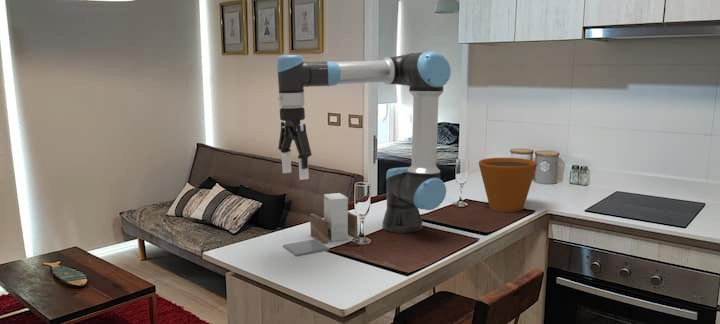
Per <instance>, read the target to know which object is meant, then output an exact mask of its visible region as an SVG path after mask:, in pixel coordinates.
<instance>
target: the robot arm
mask: <svg viewBox="0 0 720 324" xmlns="http://www.w3.org/2000/svg"><path fill="white" fill-rule="evenodd" d="M276 67H277V70H276V72H277V82H278V97H277V100H278V101H279V102H278V103H279V104H278V105H279V106H280V107H281V108H280V109H279V119H280V120H281V122H280V133H279V141H278V150H279V151H280V153H281V167H282V168H281V169H282V174H290V173H292V161H291V160H292V156H291V152H292V150H291V146H292V143H293V141H294V144H295V147H296V149H297V153H298V156H297V159H298V174H299V175H298V176H299V181H305V180H309V178H310V176H309V175H310V174H309V157H311V156H312V151H311V146H310V142H309V138H308V134H307V128H306V127H307V126H306V124H305V123H301V121H303V120H305V118H306V114H305V113H306V112H305V108H304V107H303V106H305V91H304V89H305V87H306V88H308V87H330V86H332V87H333V86H337V85H344V84H345V85H346V84H347V85H348V84H366V83H367V84H368V83H384V84H385V85H398V86H399V85H400V86H406V87H408V88H409V89H408V92H409V93H410V94H411V96H412V97H413V100H412V101H413V103H412V134H411V135H412V136H411V137H412V138H411V139H412V140H411V165H410V166H406V167H405V166H403V167H393V168H389V169H388V170H387V171H386V175H385V176H386V177H385V179H386V182H385V183H386V210H385V213H384V216H383V220H382V230H384V231H387V232H391V233H399V234H406V233H414V232H415V233H416V232H419V231H421V230H422V229H423V226H424V225H423V220H422V217H421V214H420V211H419V209H420V210H425V211H432V210H435V209H437V208H438V207H439V206H440V205H442V203H443V201H444V200H445V198H446V197H447V186H446V184H445V183H444V181H443V180H442V179H441V170H440V169H439V168H438V166H437V153H438V152H437V151H438V126H439V98H440V97H441V95H442V94H443V93H444V85H446V84H447V82H448V81H449V80H450V77H451V74H452V72H451V71H452V70H451V65H450V62H449V60H448V58H446V57H445V55H443V54H442V53H440V52H436V51H423V52H412V53H407V54H402V55H397V56H386V57H384V58H383V59H382V60H381V59H380V60H379V59H378V60H355V61H354V60H350V61H329V60H328V61H304V59H303V56H302V55H301V54H300V55H299V54H297V55H296V54H291V55H290V54H287V55H285V54H284V55H280V56H279V57H278V58H277V66H276Z"/></svg>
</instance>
